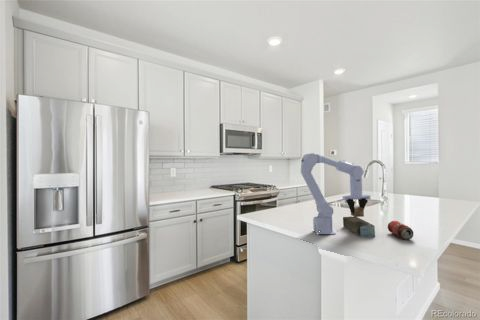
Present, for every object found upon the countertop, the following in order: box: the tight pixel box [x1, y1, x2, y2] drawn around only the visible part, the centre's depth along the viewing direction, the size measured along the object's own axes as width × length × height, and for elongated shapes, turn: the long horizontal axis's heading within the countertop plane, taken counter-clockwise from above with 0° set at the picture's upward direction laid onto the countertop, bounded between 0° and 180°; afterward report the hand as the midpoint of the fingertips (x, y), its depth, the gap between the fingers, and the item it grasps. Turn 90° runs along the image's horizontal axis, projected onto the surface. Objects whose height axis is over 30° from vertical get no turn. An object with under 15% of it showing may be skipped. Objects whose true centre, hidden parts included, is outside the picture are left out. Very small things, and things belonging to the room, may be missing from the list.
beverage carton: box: [342, 216, 376, 238], centre depth 127 cm, size 8×19×7 cm, turn 1°
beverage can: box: [387, 220, 414, 240], centre depth 117 cm, size 7×12×7 cm, turn 173°
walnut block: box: [350, 206, 365, 218], centre depth 126 cm, size 4×4×4 cm
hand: (356, 212), depth 126 cm, fingers closed on walnut block, 4 cm apart
